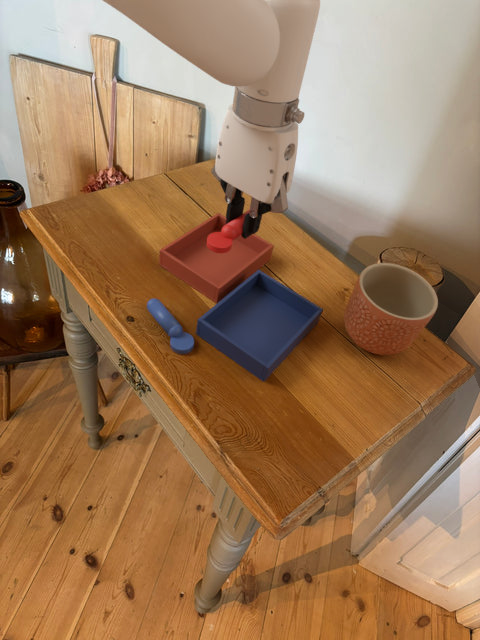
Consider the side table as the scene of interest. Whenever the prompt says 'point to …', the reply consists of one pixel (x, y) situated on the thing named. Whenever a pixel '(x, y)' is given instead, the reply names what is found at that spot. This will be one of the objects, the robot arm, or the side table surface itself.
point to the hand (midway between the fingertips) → (241, 228)
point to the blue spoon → (171, 327)
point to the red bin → (214, 259)
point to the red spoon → (226, 235)
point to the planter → (388, 308)
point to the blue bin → (259, 324)
